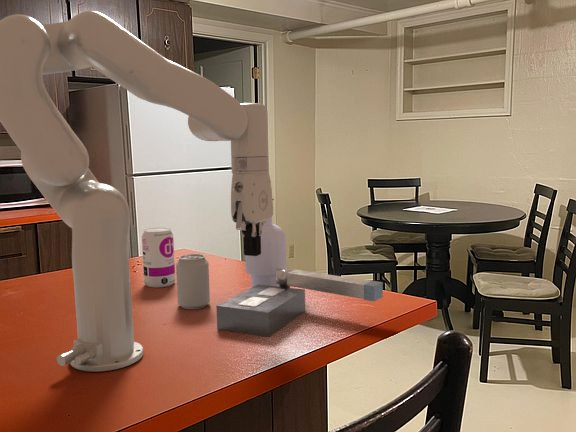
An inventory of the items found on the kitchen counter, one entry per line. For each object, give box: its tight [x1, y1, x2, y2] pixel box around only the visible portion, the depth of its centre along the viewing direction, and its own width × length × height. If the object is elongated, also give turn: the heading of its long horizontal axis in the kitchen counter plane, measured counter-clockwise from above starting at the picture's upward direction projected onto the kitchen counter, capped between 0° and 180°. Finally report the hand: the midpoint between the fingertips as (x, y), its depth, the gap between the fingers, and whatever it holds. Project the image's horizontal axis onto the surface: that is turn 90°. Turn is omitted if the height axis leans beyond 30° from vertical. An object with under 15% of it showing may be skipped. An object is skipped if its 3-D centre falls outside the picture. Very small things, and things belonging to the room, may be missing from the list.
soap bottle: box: [244, 198, 287, 288], centre depth 141 cm, size 10×10×24 cm
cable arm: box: [276, 267, 384, 302], centre depth 124 cm, size 26×4×3 cm, turn 54°
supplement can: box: [141, 227, 176, 289], centre depth 152 cm, size 8×8×15 cm
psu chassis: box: [215, 284, 306, 338], centre depth 123 cm, size 22×12×5 cm, turn 155°
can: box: [175, 253, 211, 310], centre depth 132 cm, size 8×8×12 cm
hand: (252, 254), depth 116 cm, fingers closed
